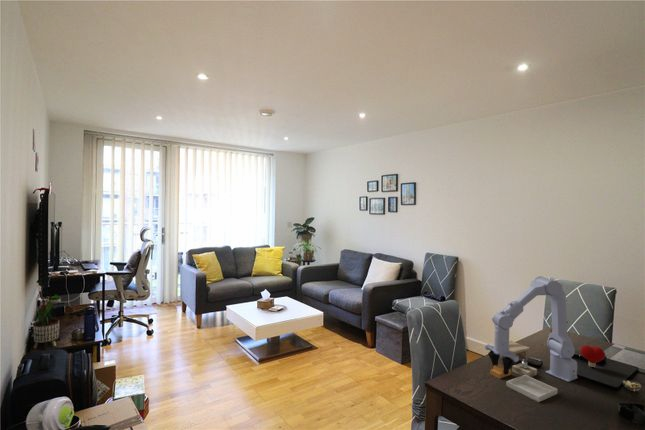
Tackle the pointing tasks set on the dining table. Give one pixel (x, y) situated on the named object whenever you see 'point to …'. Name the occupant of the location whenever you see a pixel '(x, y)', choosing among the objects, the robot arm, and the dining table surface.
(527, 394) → the parts tray
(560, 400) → the dining table surface
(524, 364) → the pin
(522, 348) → the trolley
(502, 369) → the tan stepped block
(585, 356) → the red mushroom
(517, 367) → the pin socket
